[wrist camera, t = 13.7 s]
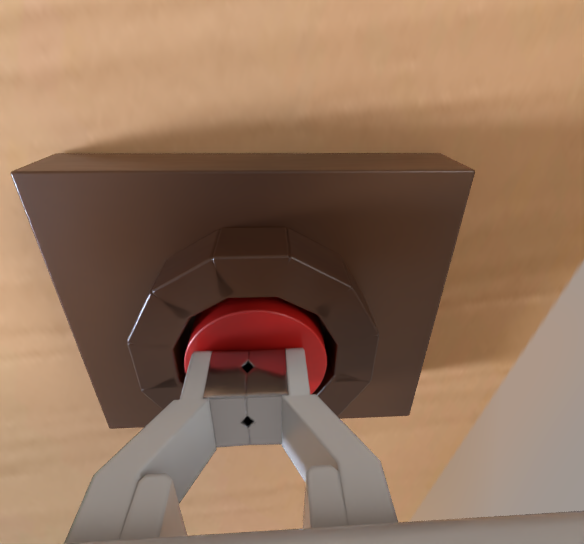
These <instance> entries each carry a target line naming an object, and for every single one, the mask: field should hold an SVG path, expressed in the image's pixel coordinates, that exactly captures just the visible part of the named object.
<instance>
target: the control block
mask: <svg viewBox="0 0 584 544" xmlns="http://www.w3.org/2000/svg"><path fill="white" fill-rule="evenodd" d="M474 174H475V171H474V170H473V169H471V168H469V167H467V166H465V165H463V164H461V163H459V162H457V161H455V160H453V159H451V158H449V157H447V156H445V155H443V154H441V153H268V154H54V155H51V156H49V157H46V158H44V159H41V160H39V161H36V162H34V163H31V164H29V165H26V166H24V167H21V168H19V169H16V170H14V171H12V172H11V176H12V179H13V181H14V184H15V187H16V189H17V192H18V194H19V197H20V199H21V202H22V204H23V207H24V210H25V212H26V215H27V217H28V220H29V222H30V225H31V228H32V230H33V233H34V235H35V238H36V240H37V243H38V246H39V248H40V251H41V253H42V256H43V258H44V261H45V264H46V266H47V269H48V271H49V274H50V276H51V279H52V282H53V284H54V287H55V289H56V292H57V294H58V297H59V300H60V302H61V305H62V307H63V310H64V312H65V315H66V318H67V320H68V323H69V325H70V328H71V330H72V333H73V336H74V338H75V341H76V343H77V346H78V348H79V351H80V354H81V356H82V359H83V361H84V364H85V366H86V369H87V372H88V374H89V377H90V379H91V382H92V384H93V387H94V390H95V392H96V395H97V397H98V400H99V402H100V405H101V408H102V410H103V413H104V415H105V418H106V420H107V423H108V425H109V428H111V429H113V428H136V427H145V426H146V425H147V424H149V423H150V422H151V421H152V420H153V419H154V418H155V417H156V416H157V415H158V414H159V413H160V412H161V411H162V410H163V409H165V408H166V407H167V406H168V405H169V404H170V403H171V402H172V401H173V400H180V396H181V392H182V388H183V385H184V381H185V377H186V372H185V367H184V356H185V352H186V348H187V345H188V341H189V338H190V334H191V331H192V328H193V324H194V321H195V317H196V315H197V314H199V313H201V312H203V311H204V310H206V309H208V308H210V307H212V306H214V305H216V304H218V303H220V302H222V301H224V300H226V299H227V298H253V297H279V298H281V299H283V300H285V301H288V302H290V303H292V304H294V305H296V306H299V307H301V308H303V309H305V310H307V311H310V312H312V313H314V314H316V315H317V316H318V317H319V320H320V325H321V330H322V335H323V340H324V344H325V349H326V355H327V368H326V372H325V375H324V378H323V380H322V382H321V384H320V385H319V386H318V388H317V389H316V390H315V391H314V392H313V393H312V394H316V395H317V396H318V397H319V398H320V399H321V400H322V401H323V402H324V403H325V404H326V405H327V406H328V407H329V408H330V409H331V410H332V411H333V412H334V413H335V414H336V415H337V416H338V417H339V419H343V418H366V417H389V416H408V415H409V414H410V410H411V406H412V403H413V399H414V395H415V391H416V388H417V384H418V380H419V377H420V373H421V369H422V366H423V362H424V358H425V355H426V351H427V347H428V344H429V340H430V336H431V332H432V329H433V325H434V321H435V318H436V314H437V310H438V307H439V303H440V299H441V296H442V292H443V288H444V284H445V281H446V277H447V273H448V270H449V266H450V262H451V259H452V255H453V251H454V248H455V244H456V240H457V236H458V233H459V229H460V225H461V222H462V218H463V214H464V211H465V207H466V203H467V200H468V196H469V192H470V188H471V185H472V181H473V177H474Z"/></svg>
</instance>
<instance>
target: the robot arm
mask: <svg viewBox="0 0 584 544" xmlns="http://www.w3.org/2000/svg"><path fill="white" fill-rule="evenodd" d="M268 444H282V447H283V448H284V450H285V451H286V453H287V454H288V456H289V458H290V459H291V461H292V462H293V464H294V465H295V467H296V469H297V470H298V472H299V473H300V475H301V476H302V478H303V479H304V481H305V499H304V514H303V529H287V530H271V531H255V532H239V533H224V534H208V535H192V536H187V532H186V529H185V525H184V521H183V518H182V514H181V510H180V507H179V503H180V502H181V500H182V499H183V497H184V496H185V494H186V493H187V492H188V490H189V489H190V487H191V486H192V484H193V483H194V481H195V480H196V479H197V477H198V476H199V474H200V473H201V471H202V470H203V468H204V467H205V465H206V464H207V463H208V461H209V460H210V458H211V457H212V455H213V454H214V452H215V451H216V447H228V446H241V445H268ZM64 544H584V511H574V512H558V513H542V514H526V515H512V516H511V515H510V516H494V517H480V518H479V517H478V518H464V519H463V518H462V519H447V520H431V521H416V522H399V523H398V520H397V516H396V513H395V510H394V506H393V503H392V499H391V496H390V492H389V489H388V485H387V482H386V478H385V475H384V471H383V468H382V465H381V461H380V460H379V459H378V458H377V457H376V456H375V455H374V454H373V453H372V452H371V451H370V450H369V449H368V448H367V446H366V445H365V444H364V443H363V442H362V441H361V440H360V439H359V438H358V437H357V436H356V435H355V434H354V433H353V432H352V431H351V430H350V429H349V428H348V427H347V426H346V425H345V424H344V423H343V422H342V421H341V420H340V419H339V417H338V416H337V415H336V414H335V413H334V412H333V411H332V410H331V409H330V408H329V407H328V406H327V405H326V404H325V403H324V402H323V401H322V400H321V399H320V398H319V397H318V396H317V395H316V394H310V387H309V380H308V372H307V365H306V358H305V350H304V349H303V348H285V349H263V350H213V351H194V352H193V354H192V355H191V358H190V362H189V366H188V370H187V373H186V377H185V381H184V385H183V388H182V392H181V396H180V400H173V401H172V402H171V403H170V404H169V405H168V406H167V407H166V408H165V409H163V410H162V411H161V412H160V413H159V414H158V415H157V416H156V417H155V418H154V419H153V420H152V421H151V422H150V423H149V424H147V425H146V426H145V427H144V428H143V429H142V430H141V431H140V432H139V433H138V434H137V435H136V436H135V437H134V438H133V439H131V440H130V441H129V442H128V443H127V444H126V445H125V446H124V447H123V448H122V449H121V450H120V451H119V452H118V453H117V454H115V455H114V456H113V457H112V458H111V459H110V460H109V461H108V462H107V463H106V464H105V465H104V466H103V467H102V468H100V469H99V470H98V471H97V472H96V473H95V474H94V475H93V477H92V480H91V482H90V484H89V487H88V489H87V491H86V494H85V496H84V498H83V501H82V503H81V505H80V507H79V510H78V512H77V514H76V517H75V519H74V521H73V524H72V526H71V528H70V531H69V533H68V535H67V538H66V540H65V542H64Z"/></svg>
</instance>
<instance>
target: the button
mask: <svg viewBox="0 0 584 544" xmlns="http://www.w3.org/2000/svg"><path fill="white" fill-rule="evenodd" d="M285 348H303V349H304V350H305V358H306V365H307V372H308V380H309V387H310V394H312V393H313V392H314V391H315V390H316V389H317V388H318V386H319V385H320V384H321V382H322V380H323V378H324V375H325V372H326V368H327V355H326V349H325V344H324V340H323V335H322V330H321V325H320V320H319V317H318V316H317V315H316V314H314V313H312V312H310V311H307V310H305V309H303V308H301V307H299V306H296V305H294V304H292V303H290V302H288V301H285V300H283V299H281V298H279V297H253V298H227V299H226V300H224V301H222V302H220V303H218V304H216V305H214V306H212V307H210V308H208V309H206V310H204V311H203V312H201V313H199V314H197V315H196V317H195V321H194V324H193V328H192V331H191V334H190V338H189V341H188V345H187V348H186V352H185V356H184V367H185V372H186V373H187V370H188V366H189V362H190V358H191V355H192V354H193V352H194V351H213V350H263V349H285Z"/></svg>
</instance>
